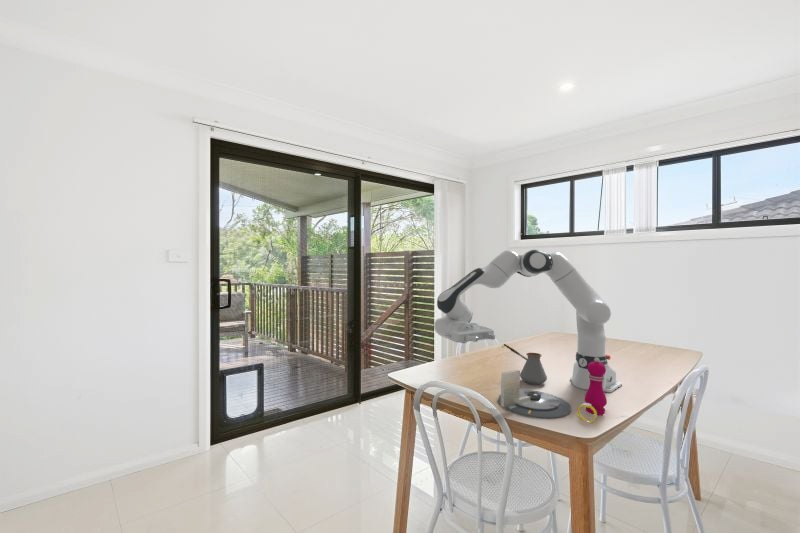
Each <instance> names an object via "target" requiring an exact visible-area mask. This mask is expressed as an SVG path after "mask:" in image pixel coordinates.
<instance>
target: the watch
mask: <svg viewBox="0 0 800 533" xmlns="http://www.w3.org/2000/svg"><path fill="white" fill-rule="evenodd" d="M582 407H583V408H586V407H588V408H591V409H592V410H593V412H594V414H595V415H594V418H593V419H592V420H590V422H591V423H594V422H595V421H596V420H597V417H598V415H597V412H596V410H595V409H594V408H593V407H592V405H591V404H590V403H586V402H583V403H582V404H580V405H579V407H578V408H577V416H578V417H579V418H580V420H581V421H583V420H585V421H584V422H587V421H589V419H587V418H584V417H583V416H582V415H581V412H580V411H581V408H582ZM590 422H589V423H590Z"/></svg>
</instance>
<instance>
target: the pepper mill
mask: <svg viewBox="0 0 800 533" xmlns="http://www.w3.org/2000/svg"><path fill="white" fill-rule="evenodd" d="M599 361H600V360H599V358H595V359H594V362H590V363H589V364H588V367H587V370H588V372H589V373H590V374H589V379H590V386H589V389H588V390H587V389H586V393H585V394H584V403H590V404H591V405H592V407H593V408H594V409H595V410H596V412H597V416H604V415H605V414H606V408H605V406H606V405H607V403H608V401H607V400H608V399H607V396H606V394H605V392H604V391H603V388H602V382H603V380H604V376H603V375H604V374H605V372H606V368H605V366H604V365H603V364H602V363H600V362H599ZM585 411H586V412H587V414H590V413H591V414H590V415H593V414H594V412H593V410H592V409H591V408H588V407H585ZM603 414H604V415H603Z"/></svg>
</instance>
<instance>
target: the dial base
mask: <svg viewBox="0 0 800 533" xmlns="http://www.w3.org/2000/svg"><path fill="white" fill-rule="evenodd" d="M546 393H547V392H546ZM547 394H550V393H547ZM550 395H552V396H554V397H556V398H557V399H558V400H559V407H558V408H557V409H554V410H549V411H538V410H531V409H526V408H522V407H520V406H517V405H515V404H514V405H511V406H507V407H503V409H506V410H507V411H509V412H511V413H514V414H517V415H520V416H523V417H529V418H532V419H543V420H547V419H548V420H555V419H560V418H565V417H567V416H569V415H570V414H571V412H572V407H571V404H570V403H569V402H568V401H567V400H565V399H563V398H562V397H559V396H557V395H553V394H550ZM498 403H499V405H500V406H501V393H500V394H499V396H498Z"/></svg>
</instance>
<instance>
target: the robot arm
mask: <svg viewBox="0 0 800 533" xmlns="http://www.w3.org/2000/svg"><path fill="white" fill-rule="evenodd" d="M516 273H517V274H519V275H521V276H523V277H527V278H530V277H531V278H532V277H536V276H538V275H539V274H542V273H544V274H546V275H547V276H548V277H549V278H550V280H551V281H552V282H553V283H554V285H555V286H556V287H557V288H558V290H559V291H560V293H562V295H563V296H564V297H565V299H566V300H567V301H569V303H570V304H571V305H572V307H573V308H574V309H575V312H576V313H575V314H576V315H575V316H576V329H577V331H576V332H577V349H576V350H577V351H576V352H575V362H574V363H573V366H572V367H573V369H572V375H571V377H570V378H569V381H571V384H572V385H573V386H574V387H576V388H579V389H583V390H586V391H587V390H588V389H589V386H590V379H589V374H590V373H589V372H588V370H587V367H588V364H589V363H590V362H594V359H595V358H599V360H600V361H599V362H600V363H602V364H603V365H604V366H605V368H606V372H605V374H604V375H603V376H604V380H603V382H602V388H603V391H604V393H605V392H606V393H612V392H614V391H616V390H617V389H618V387H619V388H621V387H622V386H623V383H622V382H620V381H619V380H617V373H616V370H614V369H613V368H612V366H610V365H609V362H608V361H609V360H611V358H612V357H611V355H609V354H606V345H607V344H606V333H605V325H604V324H606V323H607V322H608V321H609V320H610V318H611V316H612V312H611V309H610V306H609V305H608V304H607V303H606V302H605V300H604V299H603V298H602V297H601V296H600V295H599V293H598V292H597V291H595V289H594V288H593V287H592V286H591V285H590V284H589V283H588V282H587V280H586V279H585V278H584V277H583V276H582V275H581V273H580V272H579V271H578V270H577V268H576V267H575V266H574V264H572V262H571V261H570V260H569V259H568V258H567V257H565V256H564V255H563V254H562V253H561V252H557V251H556V252H555V251H554V252H550V253H547V252H544V251H542V250H539V249H531V250H529V251H526V252H524V253H523V254H518V253H517V252H515V251H514V250H511V249H507V250H503V251H502V252H501V253H499V254H498V255H497V256H496V257H495V258H493V259H492V261H490V263H489V264H487V265H486V266H484V267H482V268H481V267H477V268H475V269H473V270H472V271H470V272H469V273H467V274H466V275H465V276H464V277H462V278H461V279H460V280H459V281H457V282H456V283H454V285H452V286H451V287H449V288H448V289H446V290H444V291H442V292H441V293H440V294H439V295H438V297H437V301H436V307H437V308H438V310H440V311H441V312H442V313H443V314H445V316H443V317H439V318H437V319H436V320H435V321H434V331H435V332H436V334H437V335H438V336H440V337H442V338H445V339H447V340H449V341H452V342H455V343H457V344H459V343H460V344H466V343H468V342H473V343H476V342H477V343H478V341H482V340H491V341H493V340H496V335H495V334H494V333H495V332H494V329H492V328H489V327H486V326H482V325H480V324H479V323H475V322H473V323H472V322H471V321H472V319H473V314H474V313H473V310H472V308H470V307H469V305H467V304H466V303H465V301H464V300H462V299H461V298H460V297H461V296H462V295H463V294H464V293H465V292H467V291H468V290H469V289H470V288H472V287H473V286H475V285H482V286H485V287H487V288H489V289H498V288H499V289H500V288H501V287H502V286H504V285H505V284H506V283H507V282H508V281H509V279H511V277H512V276H513V275H515V274H516ZM621 385H622V386H621ZM615 389H616V390H615Z"/></svg>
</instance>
